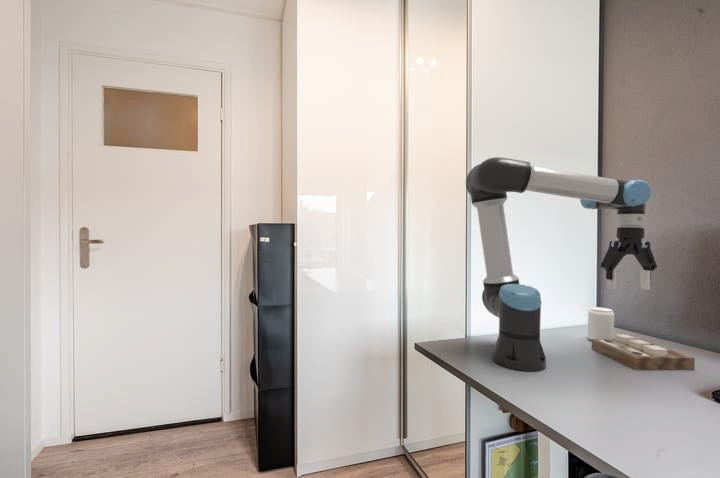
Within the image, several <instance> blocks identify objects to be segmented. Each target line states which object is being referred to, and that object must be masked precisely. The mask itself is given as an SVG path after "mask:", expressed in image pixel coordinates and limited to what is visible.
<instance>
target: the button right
mask: <svg viewBox="0 0 720 478" xmlns="http://www.w3.org/2000/svg"><path fill="white" fill-rule="evenodd" d="M643 352H644V353H646V354H649V355H651V356H654V357H667V349H664V348H661V347H659V346H656V345H644V347H643Z"/></svg>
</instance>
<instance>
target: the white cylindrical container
mask: <svg viewBox="0 0 720 478" xmlns="http://www.w3.org/2000/svg"><path fill="white" fill-rule="evenodd" d="M587 311H588V313H587V316H588V317H587V338H588V340H591V341H592V339H615V331H614V330H615V312H613V311H614V310H613V309H611V308H607V307H601V306H591V307H589V310H587Z"/></svg>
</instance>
